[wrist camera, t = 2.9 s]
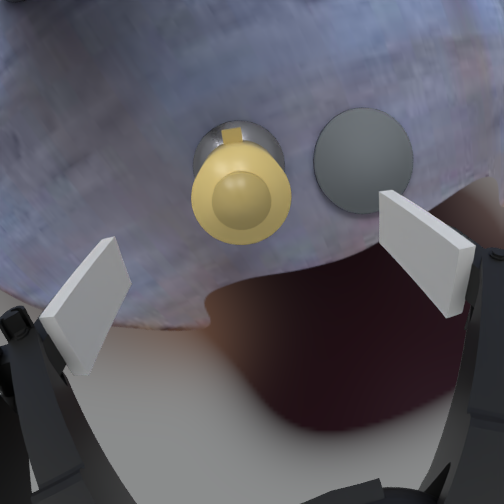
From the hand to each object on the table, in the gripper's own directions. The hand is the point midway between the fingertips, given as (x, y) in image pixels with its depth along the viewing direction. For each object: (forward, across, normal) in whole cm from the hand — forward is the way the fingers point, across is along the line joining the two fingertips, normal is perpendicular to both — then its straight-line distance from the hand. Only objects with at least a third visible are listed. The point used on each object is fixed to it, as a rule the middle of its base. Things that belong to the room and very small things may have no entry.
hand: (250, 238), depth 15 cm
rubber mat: (+22, +15, -2) cm, 26 cm away
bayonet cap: (+15, 0, 0) cm, 15 cm away
